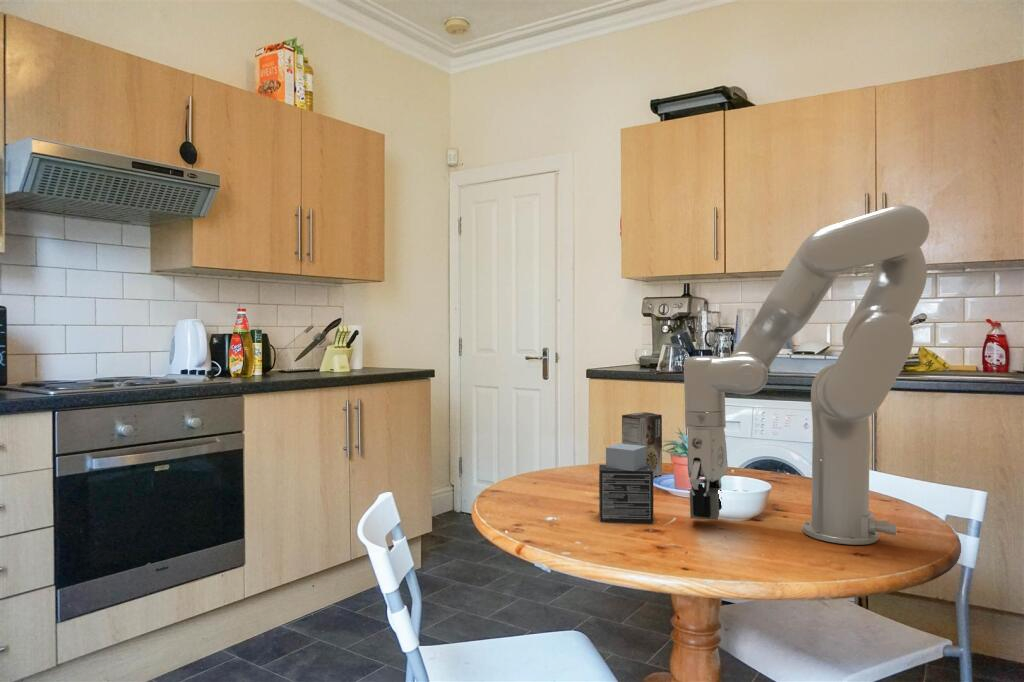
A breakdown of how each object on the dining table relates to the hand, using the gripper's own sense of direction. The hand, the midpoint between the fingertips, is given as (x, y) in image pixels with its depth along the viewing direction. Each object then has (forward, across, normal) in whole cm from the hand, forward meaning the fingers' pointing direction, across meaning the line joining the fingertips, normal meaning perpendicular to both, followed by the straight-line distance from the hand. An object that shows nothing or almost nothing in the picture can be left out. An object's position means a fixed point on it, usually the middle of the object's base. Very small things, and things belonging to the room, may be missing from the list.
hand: (707, 511), depth 131 cm
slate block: (-8, -5, +14) cm, 18 cm away
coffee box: (+2, +34, +29) cm, 45 cm away
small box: (+2, -5, +15) cm, 16 cm away
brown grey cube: (+1, 0, 0) cm, 1 cm away
